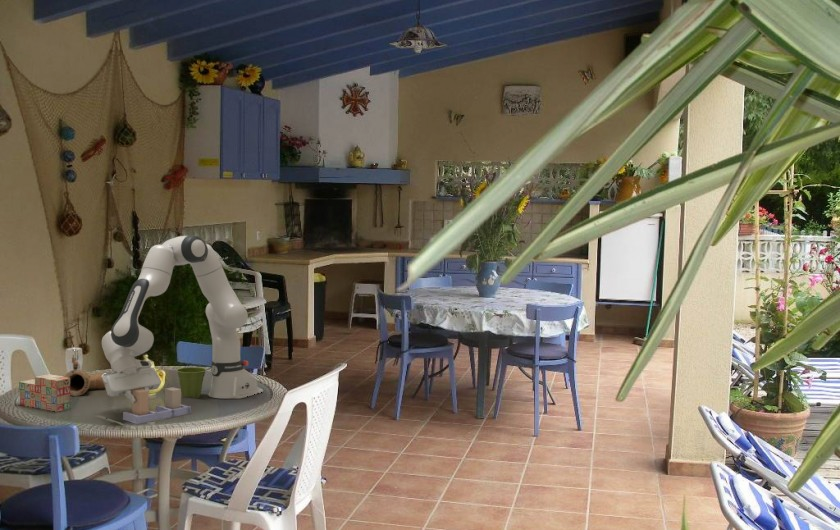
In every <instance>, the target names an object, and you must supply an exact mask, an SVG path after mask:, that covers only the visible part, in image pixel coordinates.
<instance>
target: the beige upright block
mask: <svg viewBox="0 0 840 530" xmlns="http://www.w3.org/2000/svg"><path fill="white" fill-rule="evenodd" d="M181 404H182V394H181V388H177V387H174V386H173V387H167V388H164V407H166V408H169V409H178V408H181Z"/></svg>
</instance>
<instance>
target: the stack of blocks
mask: <svg viewBox="0 0 840 530" xmlns="http://www.w3.org/2000/svg"><path fill="white" fill-rule="evenodd" d="M18 382H19V383H18V384H19V385H18V389H19V404H20V406H22V405H24V406H23V407H27V406H29V407H28V408H32V407H34V408H33V409H37V408H42V409H46V410H45V411H47V410H50V411H49V412H52V411H55V412H54V413H60V412H59V411H61V412H63V411H62V410H65V411H67V410H66V409H69V410H71V395H70V378H67V377H65V375H64V376H62V375H56V374H50V373H48V374H42V375H37V376H34V379H27V380H22V381H18ZM42 409H41V410H42Z"/></svg>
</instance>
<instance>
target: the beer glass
mask: <svg viewBox="0 0 840 530" xmlns="http://www.w3.org/2000/svg"><path fill="white" fill-rule="evenodd" d="M83 357H84V356H83V348H82V347H68V348H65V356H64V358H65V359H64V360H65V368H66V374H67V373H68V372H70V371H72V370H82V367H83V364H84V363H83V362H84V360H83Z"/></svg>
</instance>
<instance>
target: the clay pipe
mask: <svg viewBox="0 0 840 530" xmlns="http://www.w3.org/2000/svg"><path fill="white" fill-rule="evenodd" d="M104 373H105V372H100V373H95V374H94V373H92V374H91V373H90V374H89V373H87V372H85V371H84V370H82V369H81V370H72V371H70V372H68V373H67V372H66V374H65V375H64V377H67V378H70V397H80V396H82V395H84V394H85V393H86V392H88V390H89V389H90V390H91V389H92V390H93V389H100V390H104V389H106V388H105V384H104V382H103V380H102V375H104Z"/></svg>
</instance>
